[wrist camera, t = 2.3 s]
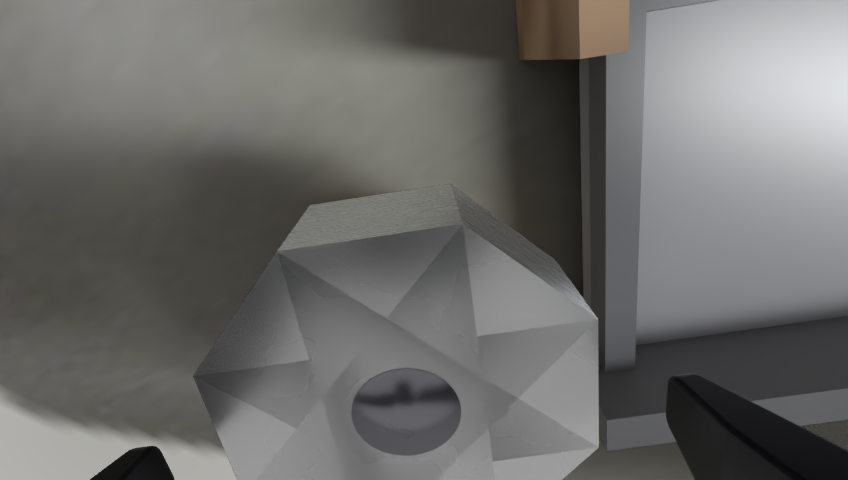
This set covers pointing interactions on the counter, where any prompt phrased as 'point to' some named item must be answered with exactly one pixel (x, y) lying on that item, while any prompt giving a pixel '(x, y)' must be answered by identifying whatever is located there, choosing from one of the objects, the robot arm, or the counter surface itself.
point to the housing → (571, 28)
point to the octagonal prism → (406, 351)
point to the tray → (718, 209)
